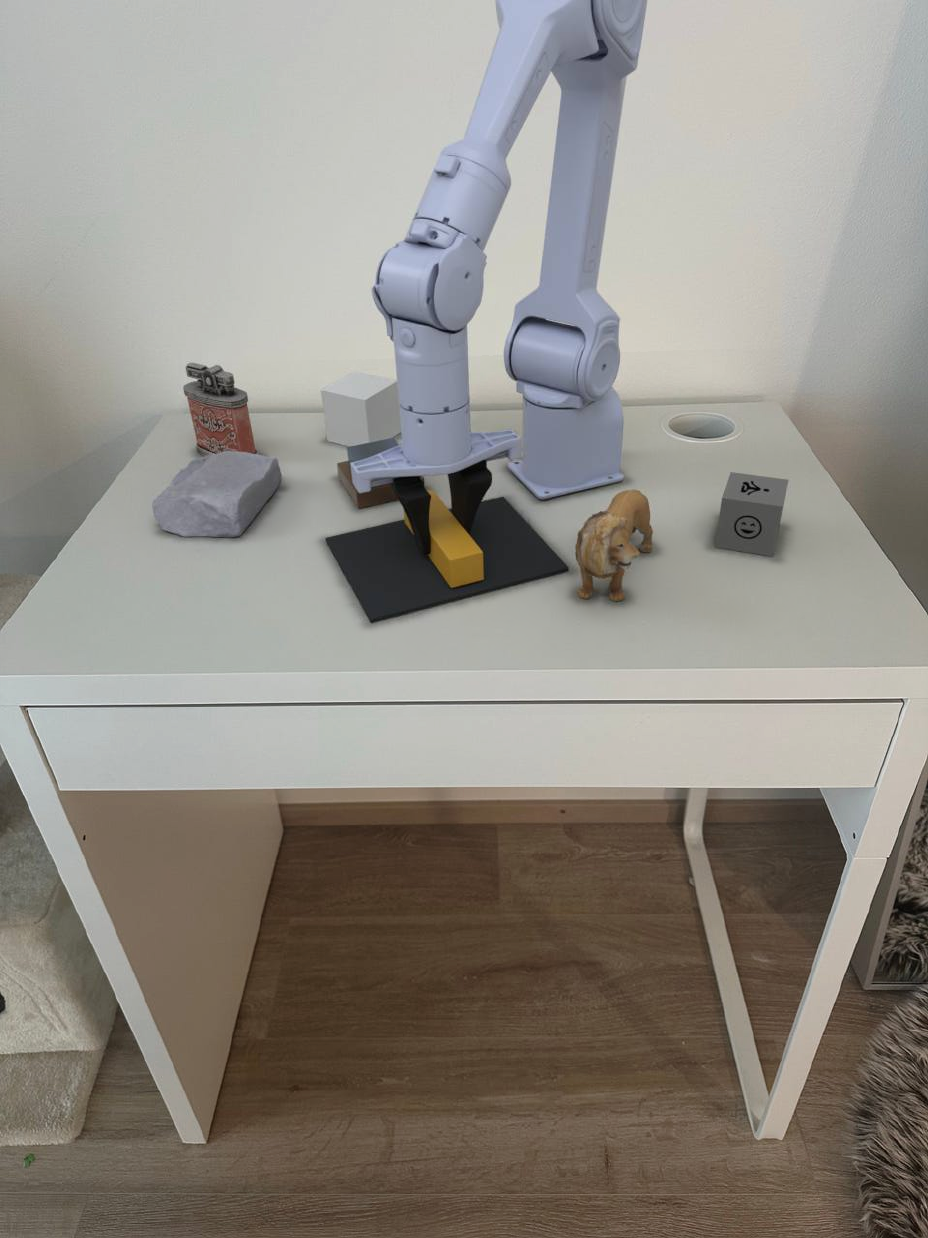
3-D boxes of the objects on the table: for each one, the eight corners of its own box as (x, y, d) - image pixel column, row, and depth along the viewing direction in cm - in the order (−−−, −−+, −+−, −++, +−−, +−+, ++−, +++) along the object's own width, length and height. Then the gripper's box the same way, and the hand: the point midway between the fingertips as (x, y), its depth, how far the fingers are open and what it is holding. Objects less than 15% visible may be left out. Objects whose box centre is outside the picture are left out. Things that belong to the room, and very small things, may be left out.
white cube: (360, 420, 108) (354, 370, 104) (402, 431, 105) (398, 380, 102) (327, 441, 104) (320, 389, 100) (370, 452, 101) (364, 399, 98)
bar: (484, 579, 79) (483, 552, 78) (451, 588, 79) (449, 560, 77) (434, 515, 88) (432, 489, 87) (404, 522, 88) (402, 496, 86)
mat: (503, 499, 92) (503, 496, 91) (568, 571, 81) (569, 567, 81) (325, 541, 87) (325, 537, 86) (371, 623, 76) (370, 619, 76)
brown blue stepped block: (402, 464, 99) (399, 431, 96) (425, 493, 93) (423, 459, 91) (338, 478, 97) (334, 444, 94) (358, 508, 91) (354, 474, 89)
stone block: (155, 549, 90) (246, 539, 87) (134, 504, 87) (228, 492, 84) (208, 494, 99) (292, 483, 96) (191, 452, 97) (277, 439, 94)
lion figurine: (630, 631, 74) (639, 533, 69) (564, 621, 75) (568, 524, 70) (657, 537, 85) (666, 446, 80) (599, 529, 86) (604, 440, 81)
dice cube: (723, 520, 87) (730, 471, 84) (779, 528, 85) (788, 479, 83) (714, 547, 83) (722, 497, 80) (773, 556, 82) (782, 506, 79)
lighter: (266, 457, 101) (250, 368, 95) (244, 470, 99) (226, 379, 93) (212, 441, 105) (194, 354, 99) (190, 453, 102) (170, 365, 97)
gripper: (496, 367, 80) (499, 506, 88) (333, 398, 76) (351, 541, 84) (532, 397, 75) (531, 542, 83) (358, 431, 71) (375, 580, 79)
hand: (442, 544), depth 83 cm, fingers closed on bar, 3 cm apart
